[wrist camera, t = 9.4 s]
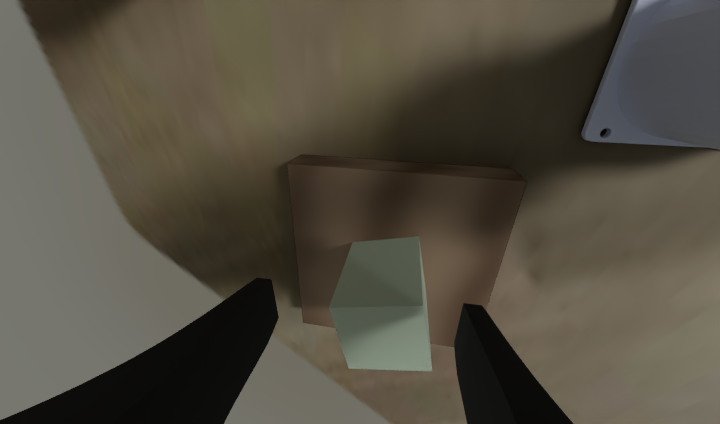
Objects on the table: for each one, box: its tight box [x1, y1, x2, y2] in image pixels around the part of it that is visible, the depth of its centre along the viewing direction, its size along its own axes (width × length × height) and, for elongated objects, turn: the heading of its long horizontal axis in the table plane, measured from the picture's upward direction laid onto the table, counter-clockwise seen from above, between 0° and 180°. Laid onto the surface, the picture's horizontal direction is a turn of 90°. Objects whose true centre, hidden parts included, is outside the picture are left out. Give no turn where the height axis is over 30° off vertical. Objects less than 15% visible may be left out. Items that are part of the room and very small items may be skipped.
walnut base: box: [287, 155, 527, 347], centre depth 20 cm, size 14×14×2 cm
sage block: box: [329, 237, 432, 371], centre depth 16 cm, size 4×4×6 cm
